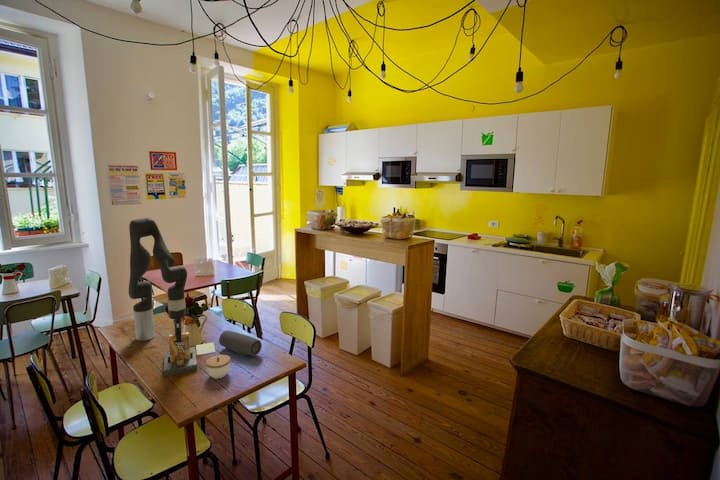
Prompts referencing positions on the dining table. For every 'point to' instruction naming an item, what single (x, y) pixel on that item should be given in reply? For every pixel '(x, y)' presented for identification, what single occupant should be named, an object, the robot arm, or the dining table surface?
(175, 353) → the candy box
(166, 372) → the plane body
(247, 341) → the bluetooth speaker
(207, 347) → the felt pad
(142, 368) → the dining table surface
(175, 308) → the robot arm
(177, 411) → the dining table surface
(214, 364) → the lidded jar
